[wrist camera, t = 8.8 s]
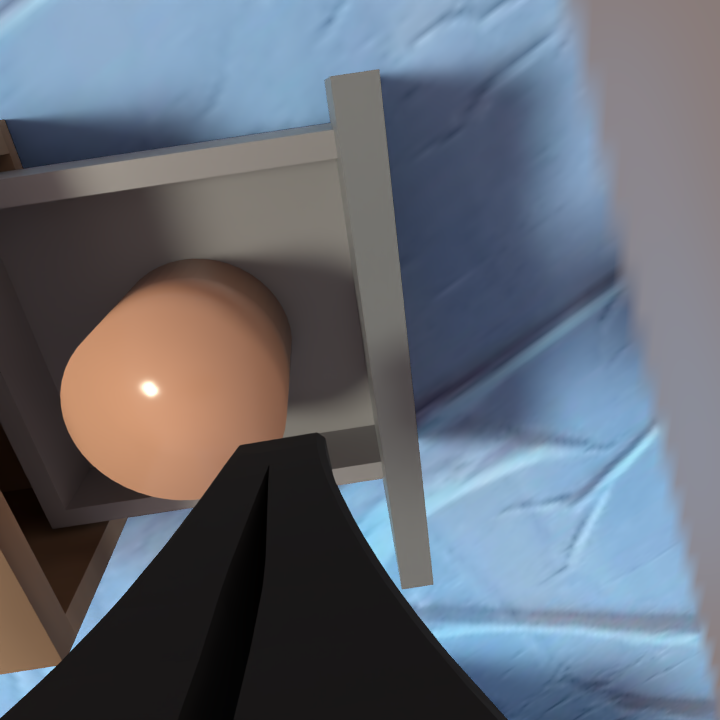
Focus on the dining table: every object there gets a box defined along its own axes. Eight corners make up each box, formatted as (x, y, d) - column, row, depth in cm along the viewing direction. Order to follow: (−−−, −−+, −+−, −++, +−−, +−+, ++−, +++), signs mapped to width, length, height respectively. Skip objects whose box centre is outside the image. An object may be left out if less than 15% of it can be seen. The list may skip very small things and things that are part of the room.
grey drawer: (355, 75, 14) (379, 68, 9) (401, 450, 19) (433, 584, 14) (-61, 137, 14) (-278, 166, 9) (94, 497, 19) (13, 649, 14)
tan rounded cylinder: (298, 411, 18) (294, 492, 14) (135, 420, 17) (90, 507, 14) (284, 254, 16) (276, 303, 12) (99, 263, 15) (33, 315, 12)
